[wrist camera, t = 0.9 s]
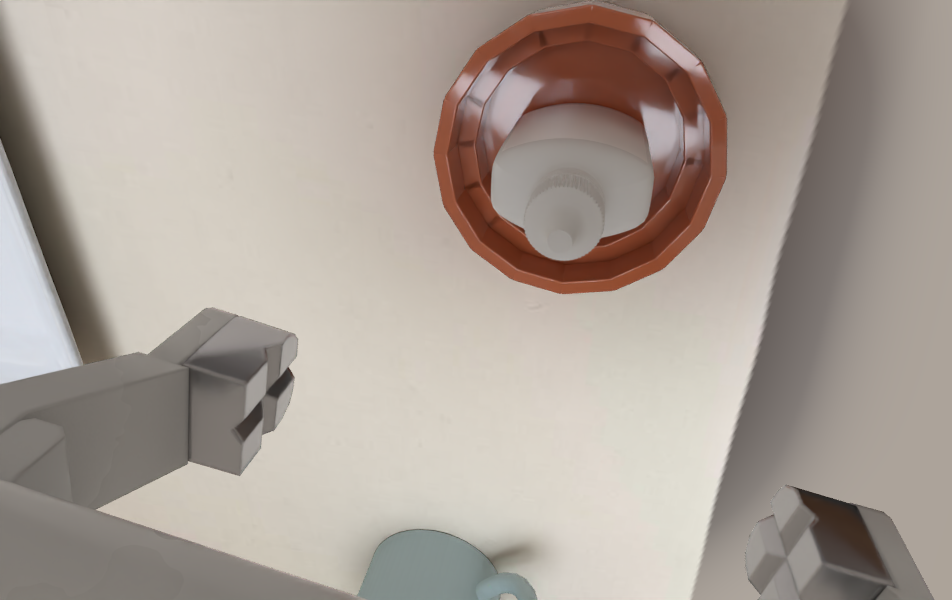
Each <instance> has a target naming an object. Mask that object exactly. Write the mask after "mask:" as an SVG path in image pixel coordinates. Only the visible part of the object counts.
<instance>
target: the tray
mask: <svg viewBox="0 0 952 600" xmlns="http://www.w3.org/2000/svg"><path fill="white" fill-rule="evenodd" d="M81 365H83V362H82V359H81V356H80V353H79V351H78V348H77V345H76V342H75V339H74V337H73V334H72V331H71V328H70V325H69V323H68V320H67V317H66V315H65V312H64V310H63V307H62V304H61V302H60V299H59V296H58V294H57V291H56V288H55V286H54V283H53V281H52V278H51V275H50V273H49V270H48V267H47V265H46V262H45V259H44V256H43V254H42V251H41V248H40V245H39V243H38V240H37V237H36V235H35V232H34V229H33V226H32V224H31V221H30V218H29V215H28V213H27V210H26V207H25V204H24V202H23V199H22V196H21V193H20V191H19V188H18V185H17V183H16V180H15V177H14V174H13V172H12V169H11V166H10V163H9V161H8V158H7V155H6V153H5V150H4V148H3V145H2V142H1V140H0V384H3V383H8V382H12V381H16V380H21V379H25V378H29V377H33V376H38V375H42V374H46V373H51V372H55V371H59V370H63V369H68V368H72V367H76V366H81Z"/></svg>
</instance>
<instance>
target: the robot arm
mask: <svg viewBox="0 0 952 600" xmlns="http://www.w3.org/2000/svg"><path fill="white" fill-rule="evenodd" d="M297 349H298V338H297V337H296V335H295V334H294V333H291V332H288V331H285V330H281V329H278V328H275V327H272V326H269V325H266V324H263V323H260V322H257V321H254V320H251V319H248V318H245V317H242V316H238V315H236V314H232V313H229V312H226V311H223V310H219V309H216V308H205V309H204V310H202V311H201V312H200V313H199V314H197V315H196V316H195V317H194V318H192V319H191V320H190V321H189V322H187V323H186V324H185V325H184V326H182V327H181V328H180V329H179V330H177V331H176V332H175V333H174V334H172V335H171V336H170V337H169V338H167V339H166V340H165V341H164V342H162V343H161V344H160V345H159V346H158V347H156V348H155V349H154V350H153V351H151V352H150V353H149V354H148V355H147V354H143V353H140V352H136V353H132V354H128V355H124V356H119V357H115V358H111V359H106V360H102V361H98V362H94V363H89V364H85V365H81V366H76V367H72V368H68V369H63V370H59V371H55V372H51V373H46V374H42V375H38V376H33V377H29V378H25V379H21V380H16V381H12V382H8V383H3V384H0V600H368V599H365V598H361V597H358V596H355V595H352V594H349V593H346V592H343V591H340V590H337V589H334V588H331V587H328V586H325V585H322V584H319V583H316V582H313V581H310V580H307V579H304V578H301V577H298V576H295V575H292V574H289V573H286V572H282V571H279V570H276V569H273V568H270V567H267V566H264V565H261V564H258V563H255V562H252V561H249V560H246V559H243V558H240V557H237V556H234V555H231V554H228V553H225V552H222V551H219V550H216V549H213V548H210V547H207V546H203V545H200V544H197V543H194V542H191V541H188V540H185V539H182V538H179V537H176V536H173V535H170V534H167V533H164V532H161V531H158V530H155V529H152V528H149V527H146V526H143V525H140V524H137V523H134V522H131V521H128V520H124V519H121V518H118V517H115V516H112V515H109V514H106V513H103V512H100V511H97V510H96V509H98V508H100V507H102V506H104V505H106V504H108V503H110V502H112V501H114V500H116V499H118V498H120V497H122V496H124V495H126V494H128V493H130V492H132V491H134V490H136V489H138V488H140V487H142V486H144V485H146V484H148V483H150V482H152V481H154V480H156V479H158V478H160V477H162V476H164V475H166V474H168V473H170V472H172V471H174V470H176V469H178V468H181V467H183V466H185V465H187V464H188V461H190V462H193V463H197V464H200V465H204V466H207V467H211V468H214V469H218V470H221V471H224V472H228V473H231V474H235V475H238V476H240V475H241V474H242V472H243V471H244V470H245V468H246V467H247V466H248V464H249V463H250V462H251V460H252V459H253V458H254V456H255V455H256V454H257V453H258V451H259V450H260V449H261V441H262V435H263V434H266V433H268V432H271V431H274V430H275V428H276V427H277V425H278V424H279V423H280V421H281V420H282V418H283V416H284V414H285V412H286V410H287V407H288V405H289V403H290V399H291V396H292V392H293V386H294V376H293V374H292V372H291V370H290V369H289V367H288V366H289V365H290V364H291V363H292V362H293V360H294V359H295V358H296V357H297ZM771 506H772V510H773V513H774V514H773V515H771V516H769V517H767V518H764V519H762V520H760V521H758V522H757V524H756V526H755V527H754V529H753V531H752V533H751V534H750V536H749V540H748V544H747V549H746V552H745V554H746V555H745V560H746V561H745V562H746V570H747V575H748V580H749V581H750V583H751V584H752V585H753V586H754V587H755V589H756V590H757V591H758V592H759V594H760V595H761V596H760V597H759V599H758V600H934V598H933V596H932V594H931V593H930V591H929V589H928V587H927V585H926V583H925V581H924V580H923V578H922V576H921V574H920V572H919V570H918V568H917V566H916V564H915V562H914V561H913V558H912V557H911V555H910V553H909V551H908V549H907V547H906V545H905V544H904V541H903V540H902V538H901V536H900V534H899V532H898V530H897V529H896V526H895V525H894V523H893V521H892V519H891V518H890V517H889V516H887V515H886V514H885V513H884V512H882V511H878V510H874V509H871V508H867V507H863V506H860V505H856V504H853V503H846V502H843V501H839V500H836V499H833V498H829V497H825V496H822V495H819V494H816V493H812V492H809V491H805V490H802V489H799V488H796V487H792V486H789V485H785V486H783V487H782V488H780V489H779V490H778V491H777V493H776V494H775V495H774V497H773V499H772V500H771Z"/></svg>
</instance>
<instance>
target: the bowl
mask: <svg viewBox="0 0 952 600" xmlns="http://www.w3.org/2000/svg"><path fill="white" fill-rule="evenodd" d="M566 103H585V104H593V105H599V106H604V107H607V108H611V109H614V110H617V111H619V112H622V113H624V114H626V115H628V116H631V117H633V118H634V119H636V120H638V121H639V122H641V124H642V125H643V126H644V127H645V130H646V134H647V139H648V144H649V149H650V154H651V159H652V165H653V172H654V183H653V191H652V198H651V203H650V208H649V213H648V216H647V217H646V219H645V221H644V222H643V223H642V224H640V225H639V226H637V227H636V228H633V229H631V230H629V231H625V232H622V233H619V234H616V235H612V236H608V237H602V238H601V239H599V242H598V243H597V246H594V249H592V250H591V251H590V252H588V254H585V256H581V258H577V259H574V260H569V261H568V260H566V261H563V260H562V261H560V260H555V259H553V260H552V259H551V258H548V257H545V256H544V255H541V253H539V252H538V250H535V248H534V247H532V245H531V244H530V241H528V238H527V237H526V234H525V230H524V228H522V227H520V226H518V225H516V224H514V223H512V222H510V221H508V220H507V219H505V218H504V217H502V216H501V215H499V214H498V213H497V212H496V211H495V209H494V208H493V206H492V202H491V176H492V167H493V163H494V160H495V158H496V155H497V153H498V152H499V150H500V148H501V146H502V145H503V143H504V141H505V140H506V138H507V136H508V135H509V133H510V132H511V130H512V128H513V127H514V125H515V124H516V122H517V121H518V119H519V118H520V117H522V116H523V115H524V114H526V113H528V112H530V111H533V110H536V109H539V108H543V107H547V106H551V105H557V104H566ZM434 160H435V165H436V170H437V175H438V181H439V186H440V191H441V196H442V201H443V205H444V208H445V209H446V211H447V212H448V214H449V215H450V217H451V219H452V220H453V222H454V223H455V225H456V226H457V228H458V230H459V231H460V233H461V234H462V236H463V237H464V239H465V241H466V242H467V244H468V245H469V247H470V248H471V249H472V250H473V251H474V252H475V253H477V254H478V255H479V256H481V257H482V258H483V259H485V260H486V261H488V262H489V263H490V264H492V265H493V266H494V267H496V268H497V269H498V270H500V271H501V272H502V273H504V274H505V275H506V276H508V277H509V278H510V279H513V280H515V281H518V282H521V283H525V284H528V285H532V286H535V287H538V288H542V289H545V290H549V291H552V292H556V293H559V294H561V293H562V294H572V293H588V292H603V291H613V290H617V289H619V288H622V287H624V286H626V285H628V284H631V283H633V282H635V281H638V280H640V279H642V278H644V277H647V276H649V275H651V274H653V273H656V272H658V271H660V270H662V269H663V268H665V267H666V266H667V265H668V264H669V263H670V262H671V261H672V260H673V259H674V258H675V257H676V256H677V255H678V254H679V253H680V252H681V251H682V250H683V249H684V248H685V247H686V246H687V245H688V244H689V243H690V242H691V241H692V240H693V239H694V238H695V237H696V236H697V235H698V234H699V233H701V232H702V229H704V227H705V225H706V223H707V220H708V218H709V216H710V214H711V211H712V209H713V207H714V204H715V202H716V200H717V198H718V195H719V193H720V191H721V189H722V186H723V184H724V182H725V179H726V175H727V118H726V113H725V111H724V109H723V107H722V105H721V102H720V100H719V98H718V96H717V94H716V91H715V89H714V87H713V85H712V82H711V80H710V78H709V76H708V74H707V71H706V69H705V67H704V65H703V63H702V62H701V60H700V59H699V58H698V57H697V56H696V55H695V54H694V53H693V52H692V51H691V50H690V49H689V48H688V47H687V46H685V45H684V44H683V43H682V42H681V41H679V40H678V39H677V38H676V37H675V36H674V35H672V34H671V33H670V32H669V31H668V30H666V29H665V28H664V27H663V26H662V25H661V24H659V23H658V22H657V21H656V20H655V19H653V18H652V17H651V16H650V15H648V14H646V13H642V12H639V11H635V10H631V9H627V8H623V7H620V6H616V5H612V4H608V3H605V2H601V1H597V0H594V1H593V0H590V1H584V2H578V3H573V4H567V5H561V6H555V7H550V8H544V9H540V10H537V11H535V12H533V13H531V14H529V15H527V16H526V17H524V18H523V19H521V20H520V21H518V22H517V23H515V24H514V25H512V26H511V27H509V28H508V29H506V30H504V31H503V32H501V33H500V34H498V35H497V36H495V37H494V38H492V39H491V40H489V41H488V42H486V43H485V44H483V45H482V46H480V47H479V48H478V49H477V50H476V51H475V52H474V54H473V55H472V57H471V58H470V60H469V61H468V63H467V64H466V66H465V67H464V69H463V70H462V72H461V73H460V75H459V76H458V78H457V79H456V81H455V82H454V84H453V85H452V87H451V88H450V90H449V91H448V93H447V94H446V96H445V99H444V101H443V106H442V111H441V116H440V121H439V126H438V131H437V136H436V141H435V146H434Z"/></svg>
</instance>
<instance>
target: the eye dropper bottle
mask: <svg viewBox="0 0 952 600" xmlns="http://www.w3.org/2000/svg"><path fill="white" fill-rule="evenodd" d="M653 183H654V172H653V165H652V159H651V154H650V149H649V144H648V139H647V134H646V130H645V127H644V126H643V125H642V124H641V122H639V121H638V120H636V119H634V118H633V117H631V116H628V115H626V114H624V113H622V112H619V111H617V110H614V109H611V108H607V107H604V106H599V105H593V104H585V103H566V104H557V105H551V106H547V107H543V108H539V109H536V110H533V111H530V112H528V113H526V114H524V115H523V116H522V117H520V118H519V119H518V121H517V122H516V124H515V125H514V127H513V128H512V130H511V132H510V133H509V135H508V136H507V138H506V140H505V141H504V143H503V145H502V146H501V148H500V150H499V152H498V153H497V155H496V158H495V160H494V163H493V167H492V176H491V202H492V206H493V208H494V209H495V211H496V212H497V213H498V214H499V215H501V216H502V217H504V218H505V219H507V220H508V221H510V222H512V223H514V224H516V225H518V226H520V227H522V228H524V230H525V234H526V237H527V238H528V241H530V244H531V245H532V247H534V248H535V250H538V252H539V253H541V255H544V256H545V257H548V258H551V259H552V260H553V259H555V260H560V261H562V260H563V261H566V260H568V261H569V260H574V259H577V258H581V256H585V254H588V252H590V251H591V250H592V249H594V246H597V243H598V242H599V239H601V238H602V237H608V236H612V235H616V234H619V233H622V232H625V231H629V230H631V229H633V228H636V227H637V226H639V225H640V224H642V223H643V222H644V221H645V219H646V217H647V216H648V213H649V208H650V203H651V198H652V191H653Z"/></svg>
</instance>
